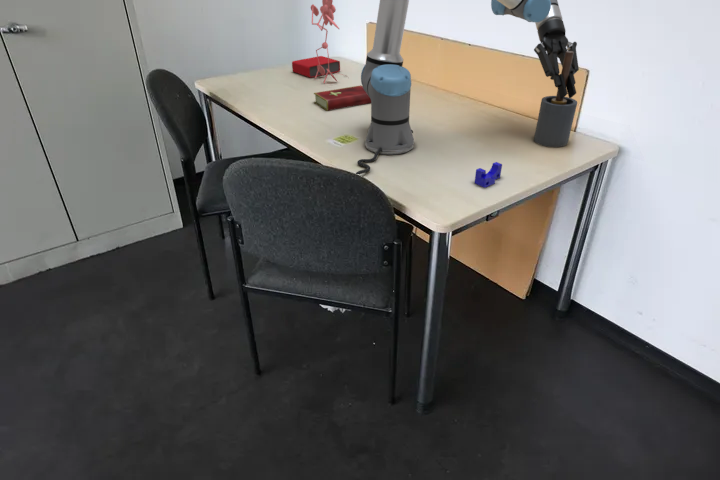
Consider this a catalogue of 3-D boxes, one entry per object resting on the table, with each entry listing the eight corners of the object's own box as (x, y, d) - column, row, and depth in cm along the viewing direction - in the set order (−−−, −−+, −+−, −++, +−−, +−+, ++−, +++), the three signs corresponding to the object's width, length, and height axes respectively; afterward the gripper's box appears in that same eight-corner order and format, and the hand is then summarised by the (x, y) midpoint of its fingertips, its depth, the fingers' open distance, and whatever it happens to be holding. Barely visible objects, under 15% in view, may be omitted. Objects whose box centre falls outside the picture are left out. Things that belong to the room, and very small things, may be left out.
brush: (561, 128, 149) (578, 53, 137) (546, 127, 150) (562, 52, 138) (560, 123, 152) (577, 50, 140) (546, 122, 153) (561, 49, 141)
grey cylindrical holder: (568, 148, 148) (578, 107, 141) (533, 145, 151) (541, 104, 144) (566, 137, 156) (576, 97, 149) (534, 134, 159) (541, 94, 152)
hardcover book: (375, 102, 190) (375, 91, 187) (327, 111, 181) (326, 100, 179) (361, 94, 198) (360, 84, 196) (314, 102, 190) (313, 92, 188)
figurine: (330, 88, 207) (326, -2, 188) (306, 75, 226) (300, -9, 207) (361, 83, 213) (360, -5, 194) (335, 70, 232) (332, -11, 213)
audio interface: (322, 66, 240) (322, 55, 237) (340, 71, 230) (339, 60, 228) (292, 72, 230) (291, 61, 228) (309, 78, 221) (308, 66, 218)
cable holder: (484, 187, 127) (486, 173, 125) (474, 183, 129) (476, 169, 127) (504, 179, 131) (506, 166, 129) (494, 175, 133) (496, 161, 131)
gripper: (565, 32, 152) (583, 100, 147) (521, 34, 149) (538, 103, 144) (579, 16, 144) (599, 87, 140) (533, 18, 142) (551, 91, 137)
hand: (568, 95), depth 142 cm, fingers closed on brush, 2 cm apart
